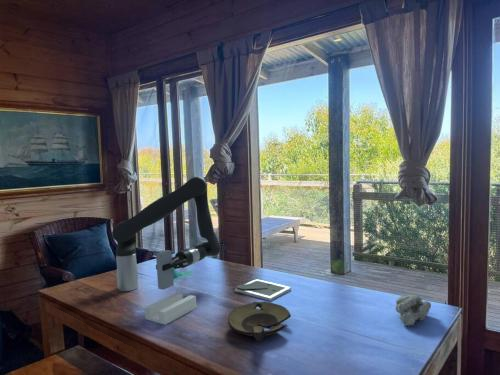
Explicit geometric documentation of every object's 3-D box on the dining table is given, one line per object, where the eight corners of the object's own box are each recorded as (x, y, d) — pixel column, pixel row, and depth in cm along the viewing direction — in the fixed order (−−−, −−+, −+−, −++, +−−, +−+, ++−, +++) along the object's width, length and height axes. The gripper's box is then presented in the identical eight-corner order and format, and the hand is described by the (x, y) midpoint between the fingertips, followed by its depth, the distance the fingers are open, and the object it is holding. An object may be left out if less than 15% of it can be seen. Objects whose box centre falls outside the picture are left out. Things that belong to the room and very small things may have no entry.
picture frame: (235, 292, 170) (270, 302, 156) (234, 286, 170) (270, 296, 156) (256, 283, 182) (291, 291, 168) (256, 277, 181) (291, 285, 168)
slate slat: (158, 288, 152) (155, 253, 151) (168, 284, 157) (166, 249, 156) (163, 289, 151) (161, 254, 149) (173, 285, 156) (171, 250, 155)
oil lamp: (298, 318, 139) (297, 298, 138) (271, 359, 111) (270, 335, 111) (244, 311, 148) (244, 292, 147) (207, 347, 120) (206, 324, 120)
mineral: (441, 309, 135) (427, 283, 138) (430, 324, 122) (415, 295, 125) (410, 318, 142) (397, 293, 145) (396, 333, 129) (383, 306, 132)
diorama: (200, 273, 201) (199, 257, 201) (171, 283, 186) (170, 266, 185) (186, 269, 209) (185, 254, 208) (157, 279, 194) (156, 263, 193)
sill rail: (145, 318, 144) (144, 307, 144) (177, 302, 159) (176, 292, 159) (165, 324, 138) (164, 312, 138) (196, 307, 153) (196, 296, 153)
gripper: (175, 247, 169) (147, 257, 154) (199, 250, 161) (171, 260, 147) (176, 263, 169) (148, 274, 155) (200, 267, 162) (172, 279, 147)
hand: (159, 267), depth 151 cm, fingers closed on slate slat, 3 cm apart
